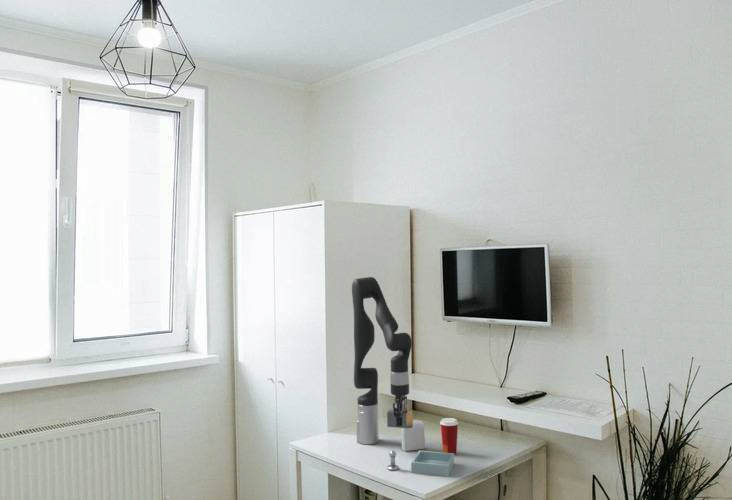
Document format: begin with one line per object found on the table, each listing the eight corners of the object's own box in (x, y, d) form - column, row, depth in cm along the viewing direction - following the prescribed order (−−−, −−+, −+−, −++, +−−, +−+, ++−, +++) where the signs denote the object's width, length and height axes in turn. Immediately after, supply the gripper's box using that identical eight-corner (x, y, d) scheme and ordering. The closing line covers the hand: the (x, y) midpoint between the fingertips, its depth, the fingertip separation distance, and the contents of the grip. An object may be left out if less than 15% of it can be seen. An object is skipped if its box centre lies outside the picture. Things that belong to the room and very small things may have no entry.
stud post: (386, 470, 227) (385, 452, 227) (389, 466, 231) (388, 448, 231) (396, 471, 225) (396, 453, 225) (399, 467, 230) (399, 449, 230)
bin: (411, 472, 224) (411, 462, 224) (419, 460, 237) (419, 450, 237) (448, 476, 219) (448, 465, 219) (454, 463, 233) (454, 453, 233)
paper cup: (461, 451, 247) (460, 418, 247) (456, 457, 240) (455, 423, 240) (443, 449, 250) (442, 416, 250) (438, 454, 243) (437, 421, 243)
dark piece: (411, 428, 232) (411, 413, 232) (387, 426, 235) (387, 412, 235) (413, 425, 236) (413, 411, 236) (390, 424, 239) (389, 409, 239)
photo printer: (404, 452, 247) (403, 423, 247) (400, 449, 251) (399, 420, 251) (426, 449, 250) (425, 420, 250) (422, 446, 254) (421, 418, 254)
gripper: (395, 378, 243) (396, 419, 243) (385, 385, 230) (386, 428, 230) (412, 379, 241) (413, 420, 241) (404, 386, 227) (405, 430, 227)
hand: (400, 424), depth 235 cm, fingers closed on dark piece, 4 cm apart
